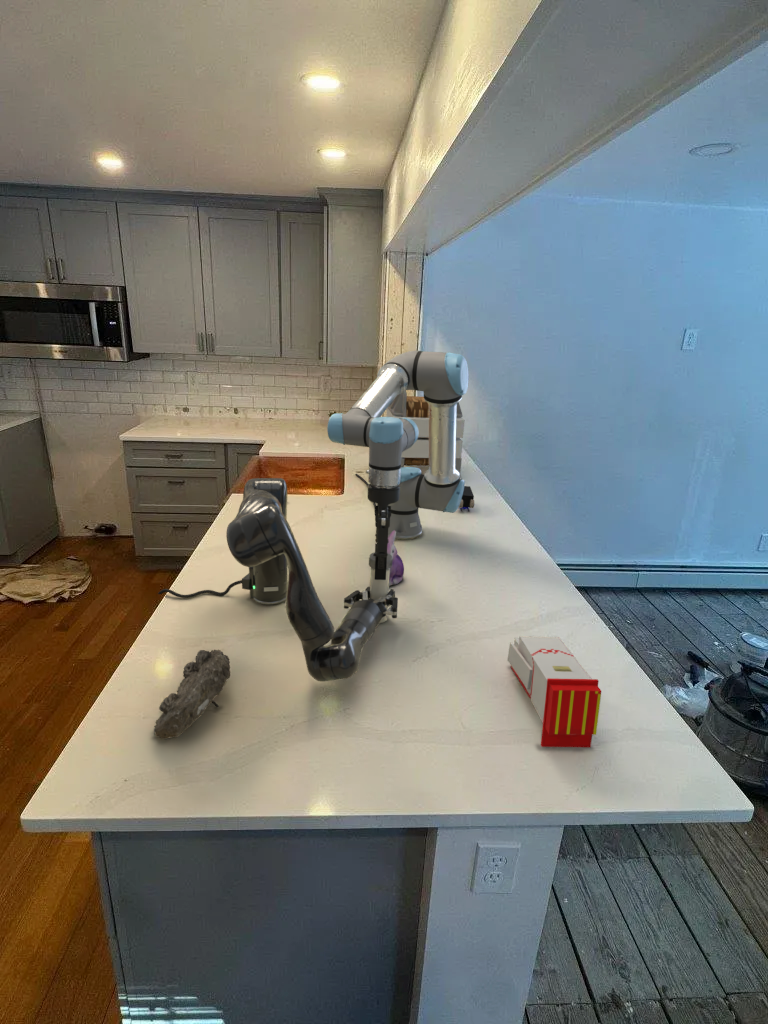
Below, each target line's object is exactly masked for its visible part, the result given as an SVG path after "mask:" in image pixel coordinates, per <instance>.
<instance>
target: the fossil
mask: <svg viewBox="0 0 768 1024" xmlns="http://www.w3.org/2000/svg"><path fill="white" fill-rule="evenodd" d="M194 659H195V661H190V662H189V661H188V662H187V663H186V664H185V665H184V667H183V672H182V676H183V679H182V680H181V682H180V683H179V686H178V687H177V690H176V692H171V693H170V694H168V696H167V697H165V698H163V700H162V701H161V703H160V704H159V706H158V710H159V711H160V712H161V714H160V716H159V718H158V719H156V721H154V722H155V723H154V724H155V725H154V726H153V727H154V729H153V730H154V731H153V732H154V733H155V734H154V735H155V736H156V737H159V738H161V740H166V739H170V738H174V737H175V738H178V737H180V736H181V735H182V734H183V733H184V732H185V731H186V730H187V729H189V727H191V726H192V724H193V723H195V721H197V720H198V719H199V718H200V717H201V716H202V715H203V714H204V713H205V711H206V708H208V707H209V706H210V705H211V704H212V705H213V706H215V708H219V707H220V705H219V704H218V703H217V702H216V701H215V700H214V699H215V697H217V696H220V694H221V692H222V691H223V690H224V687H225V685H226V683H227V681H228V680H229V679H230V678H231V664H230V663H231V659H230V657H229V656H228V655H227V654H225V653H224V652H223V651H222V650H221V649H212V650H211V651H209V650H204V649H200V650H198V652H197V654H196V656H195V658H194Z"/></svg>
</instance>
